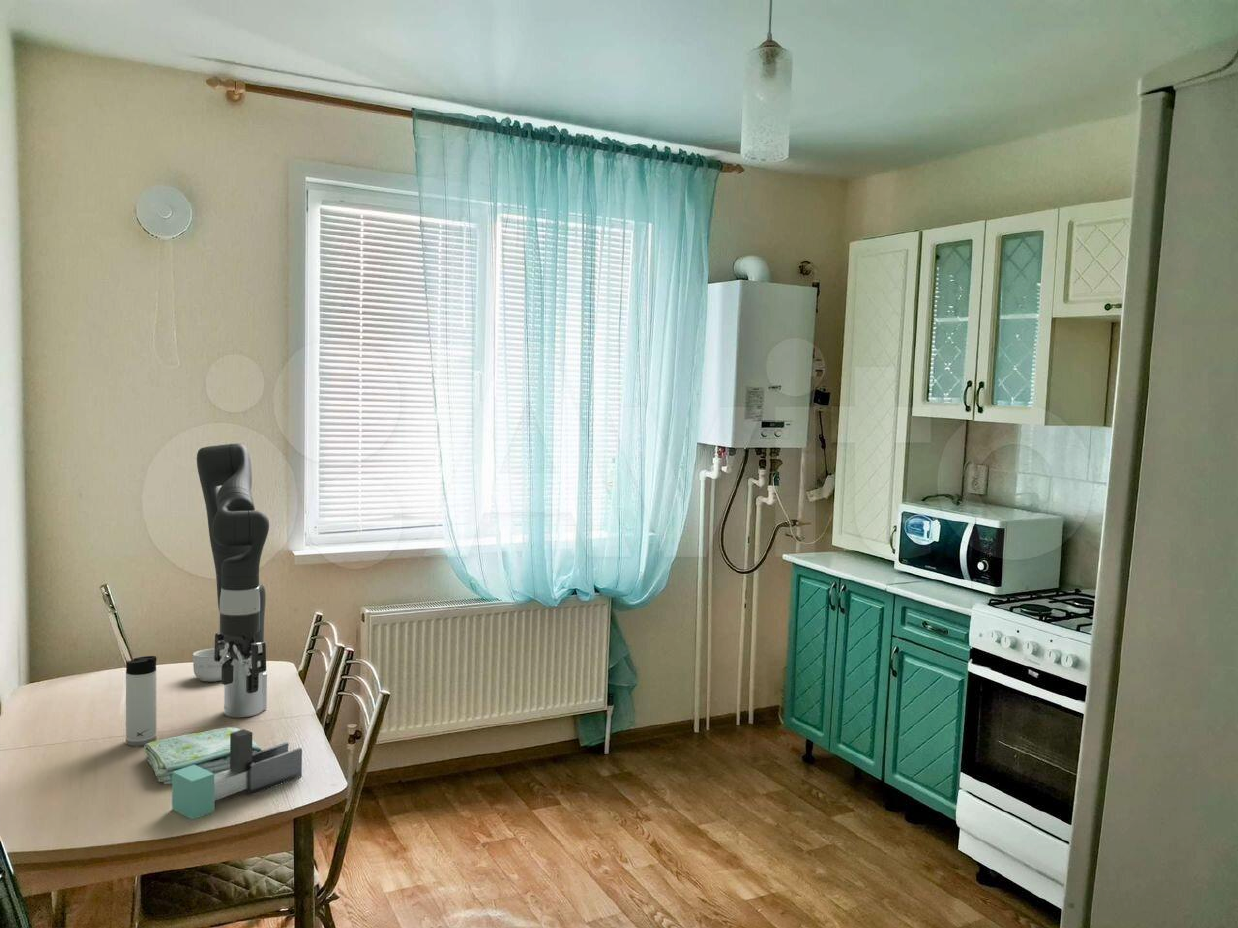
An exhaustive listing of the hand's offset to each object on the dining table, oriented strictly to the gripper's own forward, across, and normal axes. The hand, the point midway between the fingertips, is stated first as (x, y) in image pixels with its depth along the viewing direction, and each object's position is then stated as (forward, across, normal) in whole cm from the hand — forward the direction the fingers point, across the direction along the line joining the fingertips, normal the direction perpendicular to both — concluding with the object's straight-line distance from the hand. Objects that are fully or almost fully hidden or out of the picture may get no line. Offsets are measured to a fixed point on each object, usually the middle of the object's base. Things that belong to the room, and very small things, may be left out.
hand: (239, 687), depth 181 cm
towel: (+23, +20, -4) cm, 31 cm away
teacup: (+22, +70, -39) cm, 84 cm away
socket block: (+22, 0, +10) cm, 24 cm away
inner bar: (+21, 0, +3) cm, 21 cm away
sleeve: (+22, 0, -7) cm, 23 cm away
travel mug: (+22, +41, -2) cm, 47 cm away
